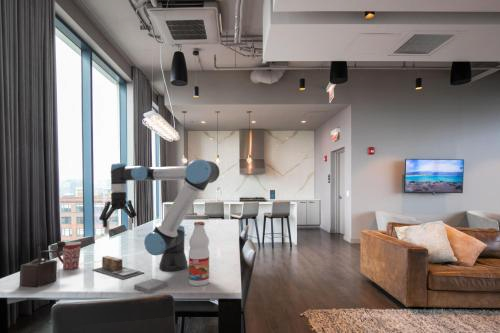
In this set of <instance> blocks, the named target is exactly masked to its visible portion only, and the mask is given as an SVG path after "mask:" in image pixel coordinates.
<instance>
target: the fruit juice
mask: <svg viewBox="0 0 500 333" xmlns="http://www.w3.org/2000/svg"><path fill="white" fill-rule="evenodd" d="M205 224H206V223H205V221H195V222H194V223H193V225H194V229H193V231H192V234H191V236H190V238H189V241H188V243H189V248H190V249H189V251H188V252H189V253H188V283H189V285H190V286H195V287H202V286H206V285H208V284H209V282H210V249H209V244H210V239H209V236H208V235H207V232H206V230H205Z"/></svg>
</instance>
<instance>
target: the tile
mask: <svg viewBox="0 0 500 333" xmlns="http://www.w3.org/2000/svg"><path fill="white" fill-rule="evenodd" d="M167 287H168V282H167V281H165V280H164V281H163V280H160V279H157V278H150V279H147V280H144V281H140V282H137V283H134V284H133V289H134V290H138V291H141V292H144V293H146V294H151V293H153V292H155V291H159V290H161V289H164V288H167Z"/></svg>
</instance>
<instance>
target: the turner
mask: <svg viewBox="0 0 500 333" xmlns="http://www.w3.org/2000/svg"><path fill="white" fill-rule="evenodd" d="M101 258H102V259H101V261H102V262H101V264H102V265H101V267H102V268H104V269H107V270H110V271H114V272H112V274H115V275H119V276H122V277H125V276H129V275H132V274H136V273H138V271H139V270H136V269H133V270H131V269H132V268H129V269H128V267H125V269H122V267H123V259H122V258H119V257H115V256H110V255H105V256H102V257H101ZM135 270H136V271H135Z"/></svg>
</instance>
